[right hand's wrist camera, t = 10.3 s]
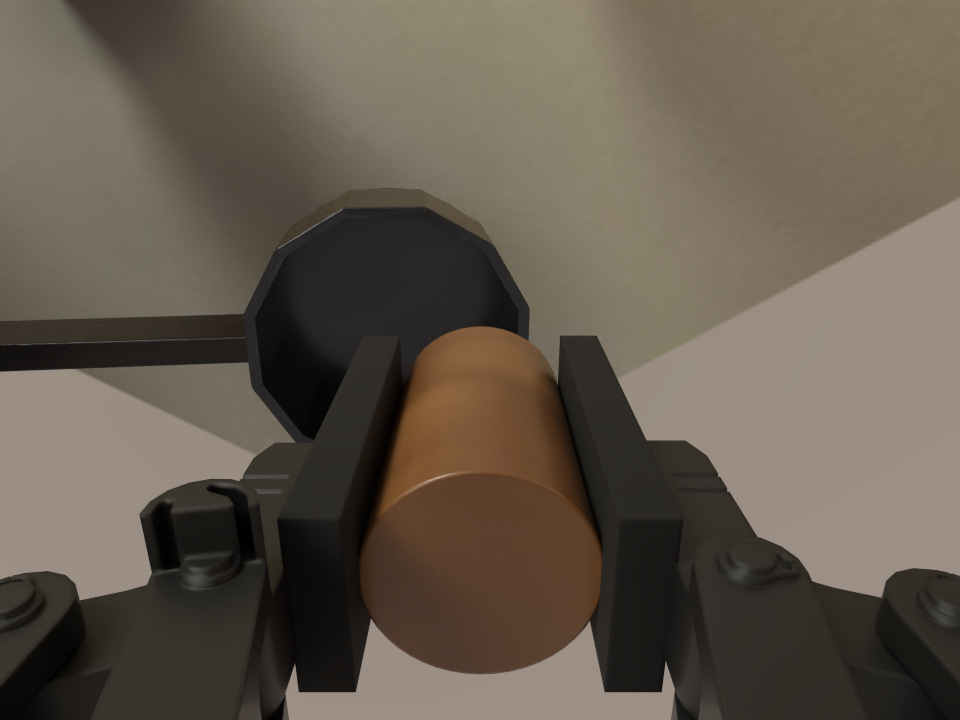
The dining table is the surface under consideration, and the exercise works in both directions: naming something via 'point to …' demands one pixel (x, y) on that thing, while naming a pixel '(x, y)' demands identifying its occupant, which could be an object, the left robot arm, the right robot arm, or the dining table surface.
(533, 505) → the brown wooden cylinder
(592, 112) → the dining table surface
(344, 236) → the saucepan
